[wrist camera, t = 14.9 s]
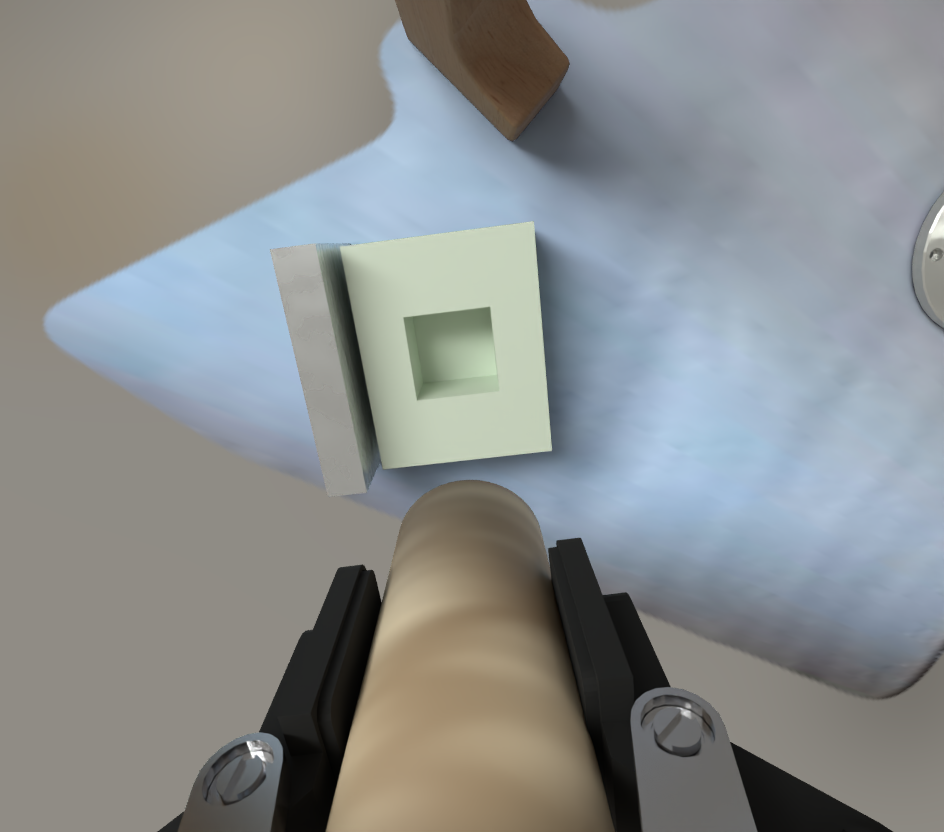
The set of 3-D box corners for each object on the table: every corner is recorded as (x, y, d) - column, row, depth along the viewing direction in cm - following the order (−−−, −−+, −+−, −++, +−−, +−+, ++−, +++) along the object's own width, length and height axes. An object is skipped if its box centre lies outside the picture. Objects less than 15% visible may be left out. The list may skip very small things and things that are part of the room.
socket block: (525, 224, 35) (533, 221, 30) (542, 425, 39) (551, 450, 35) (357, 246, 35) (339, 246, 30) (393, 442, 40) (382, 469, 35)
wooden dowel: (534, 470, 14) (681, 989, 4) (548, 596, 15) (685, 1214, 5) (385, 490, 14) (199, 1032, 4) (412, 612, 15) (312, 1241, 6)
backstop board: (349, 243, 35) (315, 243, 28) (387, 445, 40) (366, 492, 32) (313, 248, 35) (269, 249, 28) (355, 448, 40) (327, 496, 33)
